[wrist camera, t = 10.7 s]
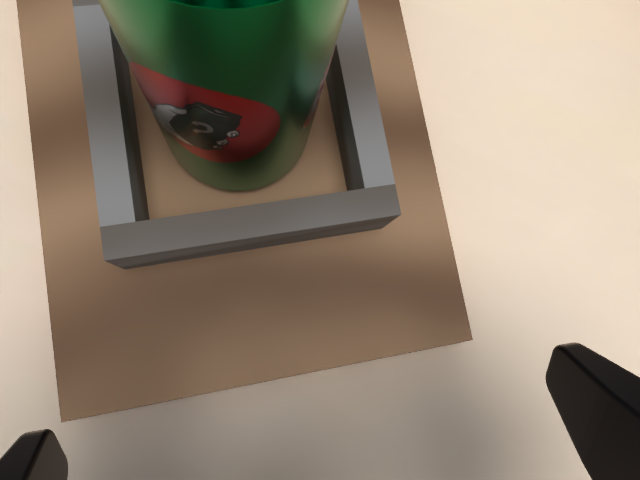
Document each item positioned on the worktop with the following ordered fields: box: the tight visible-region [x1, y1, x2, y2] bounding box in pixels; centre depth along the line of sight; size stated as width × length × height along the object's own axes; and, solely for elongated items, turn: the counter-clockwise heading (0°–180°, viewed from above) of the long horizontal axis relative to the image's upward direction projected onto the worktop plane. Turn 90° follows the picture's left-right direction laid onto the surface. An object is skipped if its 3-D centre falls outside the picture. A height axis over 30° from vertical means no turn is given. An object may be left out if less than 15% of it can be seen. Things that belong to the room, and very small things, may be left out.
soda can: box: [98, 0, 349, 191], centre depth 12 cm, size 5×5×12 cm
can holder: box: [17, 0, 472, 422], centre depth 18 cm, size 18×14×4 cm
